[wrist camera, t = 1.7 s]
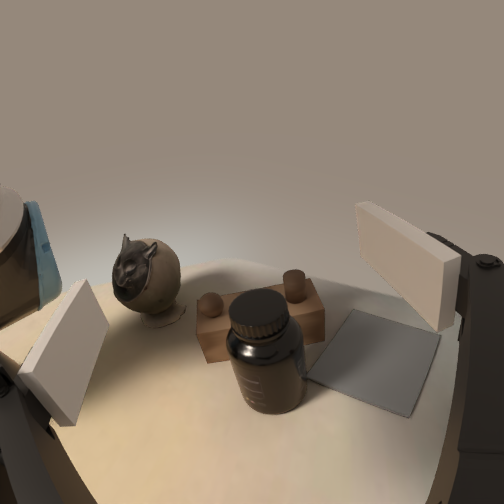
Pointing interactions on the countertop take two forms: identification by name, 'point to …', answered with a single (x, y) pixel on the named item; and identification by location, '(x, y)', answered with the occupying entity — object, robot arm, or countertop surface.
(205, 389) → the countertop surface
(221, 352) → the plane body block
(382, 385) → the slate mat
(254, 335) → the supplement bottle
